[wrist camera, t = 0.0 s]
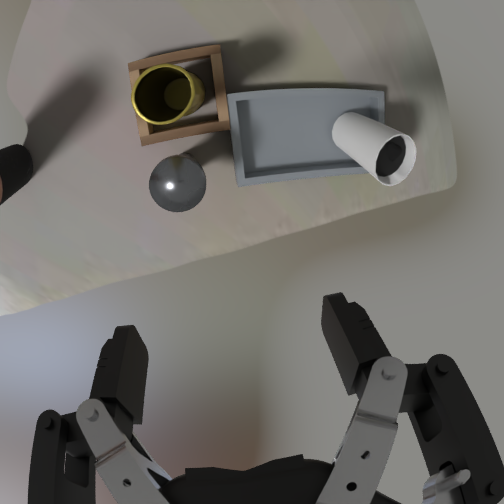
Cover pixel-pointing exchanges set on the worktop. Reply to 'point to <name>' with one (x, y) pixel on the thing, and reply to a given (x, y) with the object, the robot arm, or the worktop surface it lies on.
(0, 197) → the travel mug
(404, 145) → the white cup
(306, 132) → the tray
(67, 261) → the worktop surface
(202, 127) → the holder
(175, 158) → the knob post
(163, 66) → the vase
